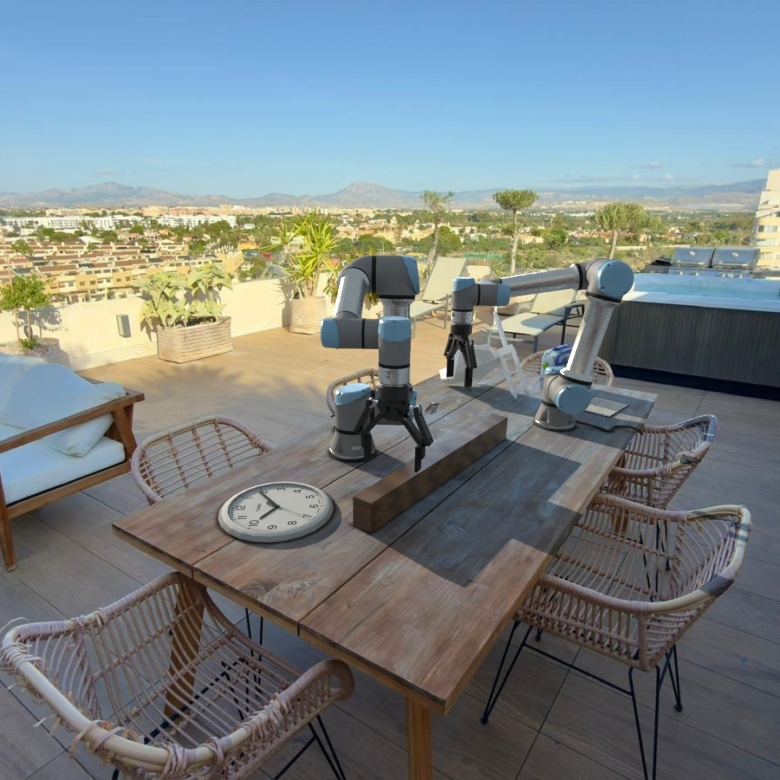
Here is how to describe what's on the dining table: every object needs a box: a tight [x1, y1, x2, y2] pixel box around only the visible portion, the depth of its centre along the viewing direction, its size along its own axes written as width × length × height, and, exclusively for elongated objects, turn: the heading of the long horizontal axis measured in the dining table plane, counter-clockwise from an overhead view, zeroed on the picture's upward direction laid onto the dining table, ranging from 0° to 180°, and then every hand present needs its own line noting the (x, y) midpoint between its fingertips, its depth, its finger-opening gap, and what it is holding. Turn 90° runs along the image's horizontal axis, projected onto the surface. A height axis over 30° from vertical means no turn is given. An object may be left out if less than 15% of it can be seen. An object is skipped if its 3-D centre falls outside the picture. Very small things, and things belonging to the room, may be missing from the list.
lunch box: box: [539, 344, 574, 391], centre depth 247 cm, size 26×11×21 cm, turn 134°
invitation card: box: [584, 396, 629, 418], centre depth 226 cm, size 21×1×15 cm
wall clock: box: [217, 481, 335, 544], centre depth 139 cm, size 30×2×30 cm
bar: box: [352, 413, 509, 534], centre depth 161 cm, size 78×6×8 cm, turn 143°
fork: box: [425, 396, 439, 412], centre depth 222 cm, size 3×16×2 cm, turn 160°
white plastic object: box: [438, 310, 531, 400], centre depth 245 cm, size 37×45×31 cm
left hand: (392, 465), depth 130 cm, fingers open, 13 cm apart
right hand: (458, 381), depth 188 cm, fingers open, 13 cm apart
